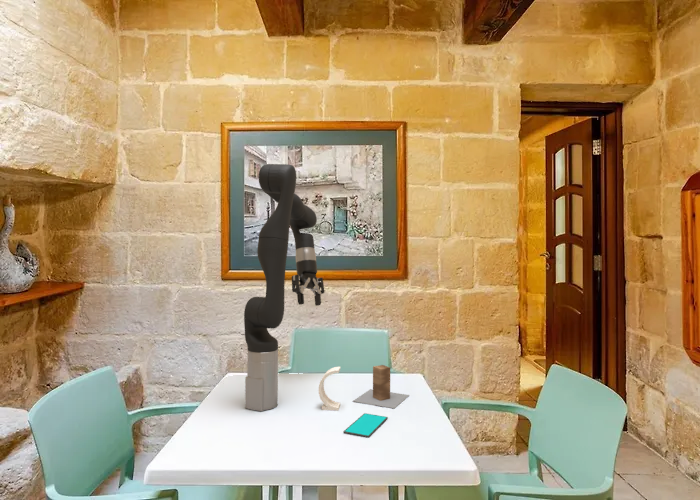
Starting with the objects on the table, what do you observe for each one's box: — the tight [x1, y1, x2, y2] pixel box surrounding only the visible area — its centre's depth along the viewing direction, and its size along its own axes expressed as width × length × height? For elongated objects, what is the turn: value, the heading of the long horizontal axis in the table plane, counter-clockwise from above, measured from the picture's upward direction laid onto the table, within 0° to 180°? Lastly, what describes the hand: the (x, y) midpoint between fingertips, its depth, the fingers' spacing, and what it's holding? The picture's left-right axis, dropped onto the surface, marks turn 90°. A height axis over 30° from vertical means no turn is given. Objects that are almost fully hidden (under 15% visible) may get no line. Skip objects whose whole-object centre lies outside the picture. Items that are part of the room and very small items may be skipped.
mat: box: [352, 388, 410, 409], centre depth 149 cm, size 14×14×1 cm
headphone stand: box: [318, 366, 341, 411], centre depth 140 cm, size 5×6×12 cm
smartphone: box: [343, 412, 388, 439], centre depth 126 cm, size 7×1×15 cm
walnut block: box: [372, 364, 391, 401], centre depth 149 cm, size 4×4×10 cm
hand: (310, 304), depth 167 cm, fingers open, 8 cm apart
